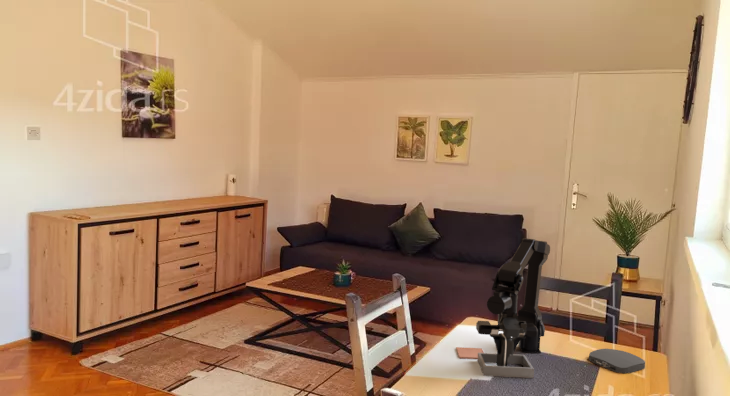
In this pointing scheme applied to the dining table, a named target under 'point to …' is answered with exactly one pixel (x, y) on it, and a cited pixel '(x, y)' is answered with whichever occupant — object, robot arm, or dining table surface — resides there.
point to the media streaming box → (617, 360)
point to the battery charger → (504, 350)
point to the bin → (505, 370)
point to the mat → (468, 352)
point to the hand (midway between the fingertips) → (505, 354)
